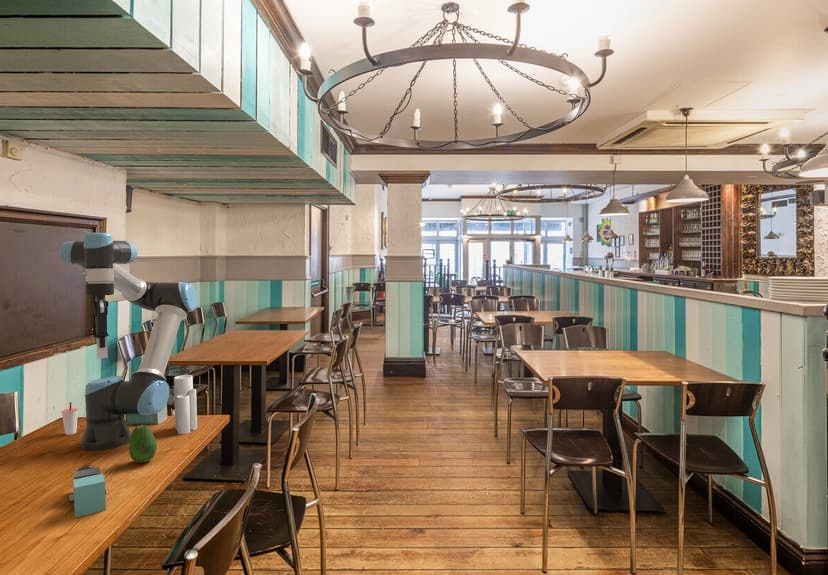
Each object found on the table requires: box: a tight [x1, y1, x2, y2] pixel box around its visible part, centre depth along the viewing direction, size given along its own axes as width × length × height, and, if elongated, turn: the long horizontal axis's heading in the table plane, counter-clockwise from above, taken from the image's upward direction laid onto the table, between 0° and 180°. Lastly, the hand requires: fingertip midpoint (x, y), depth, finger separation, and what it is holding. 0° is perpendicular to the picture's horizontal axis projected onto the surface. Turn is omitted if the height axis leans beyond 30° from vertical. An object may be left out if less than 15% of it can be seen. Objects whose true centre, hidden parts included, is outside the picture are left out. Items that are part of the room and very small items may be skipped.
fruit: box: [128, 424, 158, 464], centre depth 163 cm, size 8×8×12 cm
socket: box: [72, 473, 107, 519], centre depth 132 cm, size 6×7×8 cm
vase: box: [173, 374, 198, 435], centre depth 195 cm, size 11×7×20 cm, turn 33°
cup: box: [61, 401, 79, 436], centre depth 191 cm, size 5×5×12 cm
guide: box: [68, 466, 107, 504], centre depth 139 cm, size 4×8×7 cm, turn 126°
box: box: [124, 402, 168, 425], centre depth 206 cm, size 7×14×8 cm, turn 87°
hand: (102, 357), depth 159 cm, fingers closed
